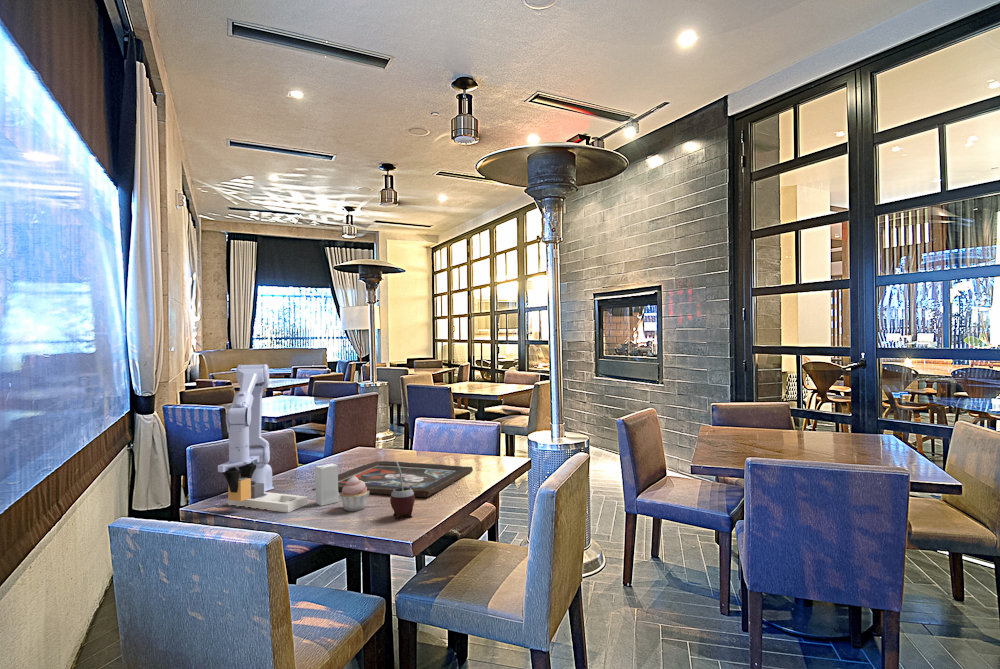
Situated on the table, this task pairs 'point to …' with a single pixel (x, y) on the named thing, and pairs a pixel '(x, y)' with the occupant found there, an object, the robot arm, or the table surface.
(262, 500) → the white recessed tray
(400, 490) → the mate gourd
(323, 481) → the skincare box
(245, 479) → the orange block
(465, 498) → the table surface
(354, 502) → the cupcake
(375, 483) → the religious icon
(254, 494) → the twin plug
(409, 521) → the table surface
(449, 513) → the table surface
